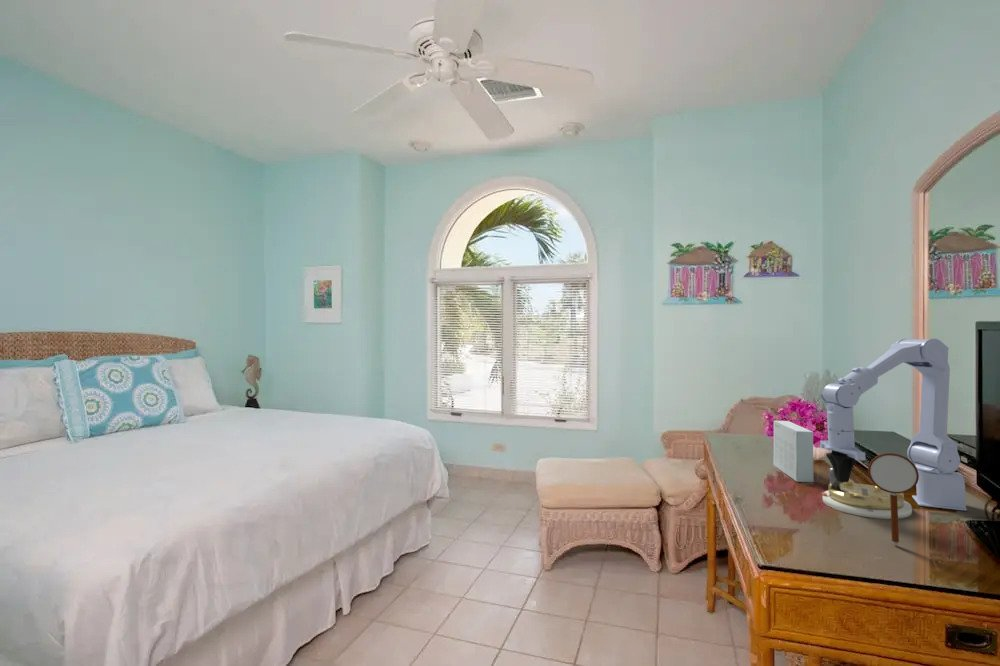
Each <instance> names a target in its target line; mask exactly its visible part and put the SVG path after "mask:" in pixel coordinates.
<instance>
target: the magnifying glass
mask: <svg viewBox="0 0 1000 666" xmlns="http://www.w3.org/2000/svg"><path fill="white" fill-rule="evenodd" d="M867 473H868V477H869V479H870V481H871V482H872V484H873V485H874V486H875V485H876V486H877V487H878V488H880V489H881V490H883V491H886V492H889V493H891V495H890V505H891V519H890V526H891V530H890V531H891V541H892V543H893V546H895V547H897V546H898V545H899V544H898V543H899V542H900V537H899V534H900V533H899V519H898V505H897V495H896V494H899V493H903V494H904V493H908V492H910V491H912V490H913V489H915V488H916V484H917V483H918V479H919V474H918V470H917V468H916V466H915V465H914V464H913V463H912V462H911V461H910V460H909V458H908V457H906V456H904V455H902V454H900V453H893V452H885V453H881V454H879V455H876V456H875V457H874V458H872V459H871V461H870V462H869V464H868V467H867Z"/></svg>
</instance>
